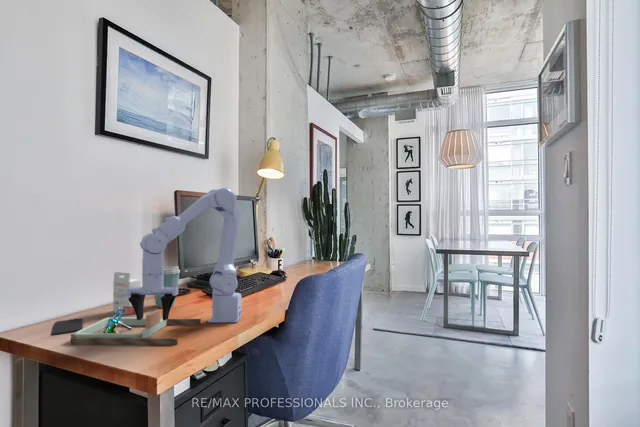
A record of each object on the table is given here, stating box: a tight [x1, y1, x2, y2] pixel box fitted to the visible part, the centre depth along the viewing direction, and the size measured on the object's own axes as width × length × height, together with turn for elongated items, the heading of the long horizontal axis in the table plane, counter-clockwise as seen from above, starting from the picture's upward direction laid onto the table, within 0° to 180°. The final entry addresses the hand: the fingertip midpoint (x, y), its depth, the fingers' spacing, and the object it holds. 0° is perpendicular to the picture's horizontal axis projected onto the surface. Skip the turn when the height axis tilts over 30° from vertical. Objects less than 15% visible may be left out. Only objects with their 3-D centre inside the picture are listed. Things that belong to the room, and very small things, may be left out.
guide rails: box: [70, 318, 202, 346], centre depth 103 cm, size 29×18×2 cm, turn 89°
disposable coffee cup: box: [154, 265, 181, 308], centre depth 136 cm, size 11×11×15 cm
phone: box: [51, 317, 83, 336], centre depth 110 cm, size 7×1×15 cm
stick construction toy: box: [102, 308, 133, 333], centre depth 104 cm, size 12×7×8 cm
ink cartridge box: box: [112, 271, 141, 316], centre depth 127 cm, size 9×5×15 cm, turn 68°
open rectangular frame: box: [70, 309, 168, 339], centre depth 103 cm, size 19×16×6 cm
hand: (152, 319), depth 103 cm, fingers open, 7 cm apart
